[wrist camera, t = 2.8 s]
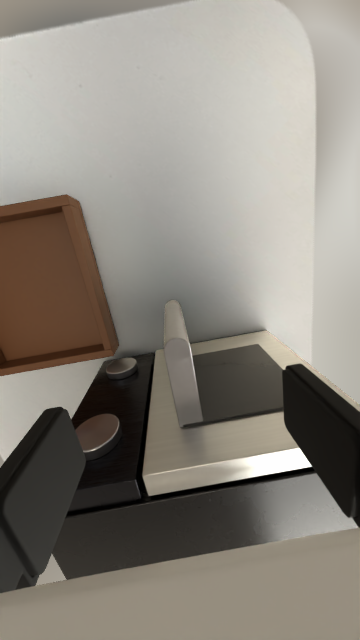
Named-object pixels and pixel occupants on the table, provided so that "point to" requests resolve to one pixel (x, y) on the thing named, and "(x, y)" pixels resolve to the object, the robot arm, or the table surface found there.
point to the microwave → (174, 507)
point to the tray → (50, 288)
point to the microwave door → (218, 409)
